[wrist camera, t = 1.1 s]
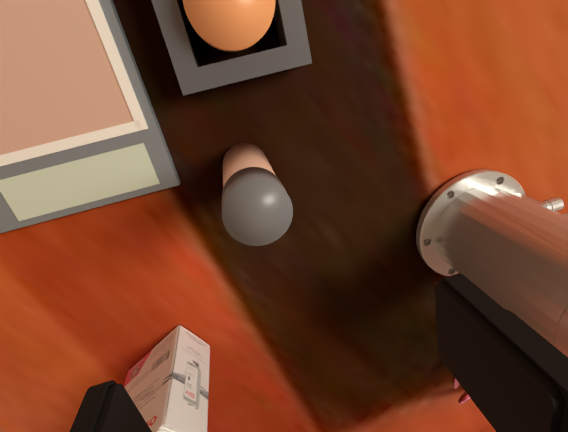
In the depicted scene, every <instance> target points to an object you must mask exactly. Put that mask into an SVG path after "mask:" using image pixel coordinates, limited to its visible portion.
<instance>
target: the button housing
mask: <svg viewBox="0 0 568 432" xmlns="http://www.w3.org/2000/svg"><path fill="white" fill-rule="evenodd" d="M151 1H152V4H153V7H154V10H155V13H156V16H157V19H158V22H159V25H160V28H161V31H162V34H163V37H164V40H165V43H166V46H167V49H168V52H169V55H170V58H171V61H172V64H173V67H174V70H175V73H176V76H177V79H178V82H179V85H180V88H181V91H182V94H183V96H184V95H188V94H192V93H196V92H199V91H203V90H207V89H211V88H215V87H219V86H223V85H227V84H231V83H235V82H239V81H243V80H247V79H251V78H255V77H259V76H263V75H267V74H271V73H275V72H279V71H283V70H287V69H291V68H295V67H299V66H303V65H307V64H311V63H312V60H311V54H310V49H309V43H308V37H307V31H306V25H305V20H304V14H303V8H302V2H301V0H275V11H274V17H275V22H276V27H277V32H278V37H279V42H280V47H278V48H274V49H270V50H266V51H262V52H258V53H254V54H250V55H245V56H241V57H237V58H233V59H229V60H225V61H221V62H217V63H213V64H209V65H205V66H201V67H199V65H198V61H197V58H196V55H195V51H194V48H193V45H192V41H191V38H190V35H189V32H188V28H187V25H186V22H185V18H184V15H183V12H182V9H181V5H180V2H179V0H151Z"/></svg>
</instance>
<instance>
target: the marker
mask: <svg viewBox="0 0 568 432" xmlns="http://www.w3.org/2000/svg"><path fill="white" fill-rule="evenodd" d="M292 216H293V207H292V203H291V200H290V198H289V196H288V194H287V192H286V190H285V189H284V187H283V185H282V183H281V181H280V180H279V179H278V177H277V176H276V175H275V173H274V171H273V170H272V168H271V166H270V164H269V162H268V160H267V158H266V156H265V155H264V153H263V151H262V150H261V149H260V148H259V147H258V146H256V145H254V144H251V143H246V142H243V143H238V144H235V145H233V146H232V147H231V148H229V149H228V151H227V152H226V153H225V155H224V158H223V191H222V220H223V224H224V226H225V228H226V230H227V232H228V233H229V234H230V235H231V236H232V237H233V238H234V239H235V240H237V241H239V242H241V243H243V244H246V245H251V246H261V245H266V244H269V243H272V242H274V241H276V240H277V239H279V238H280V237H281V236H282V235H283V234H284V233H285V232H286V231H287V229H288V228H289V226H290V224H291V221H292Z"/></svg>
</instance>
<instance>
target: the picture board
mask: <svg viewBox="0 0 568 432" xmlns="http://www.w3.org/2000/svg"><path fill="white" fill-rule="evenodd" d="M179 184H180V179H179V176H178V174H177V171H176V168H175V166H174V163H173V160H172V158H171V155H170V152H169V150H168V147H167V144H166V142H165V139H164V136H163V134H162V131H161V128H160V126H159V123H158V120H157V118H156V115H155V112H154V110H153V107H152V104H151V102H150V99H149V96H148V94H147V91H146V88H145V86H144V83H143V80H142V78H141V75H140V72H139V70H138V67H137V64H136V62H135V59H134V56H133V54H132V51H131V48H130V46H129V43H128V40H127V38H126V35H125V32H124V30H123V27H122V24H121V22H120V19H119V16H118V14H117V11H116V8H115V6H114V3H113V0H0V233H3V232H7V231H10V230H14V229H18V228H22V227H25V226H29V225H33V224H37V223H40V222H44V221H48V220H51V219H55V218H59V217H63V216H66V215H70V214H74V213H77V212H81V211H85V210H89V209H92V208H96V207H100V206H103V205H107V204H111V203H115V202H118V201H122V200H126V199H130V198H133V197H137V196H141V195H144V194H148V193H152V192H156V191H159V190H163V189H167V188H170V187H174V186H178V185H179Z"/></svg>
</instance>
